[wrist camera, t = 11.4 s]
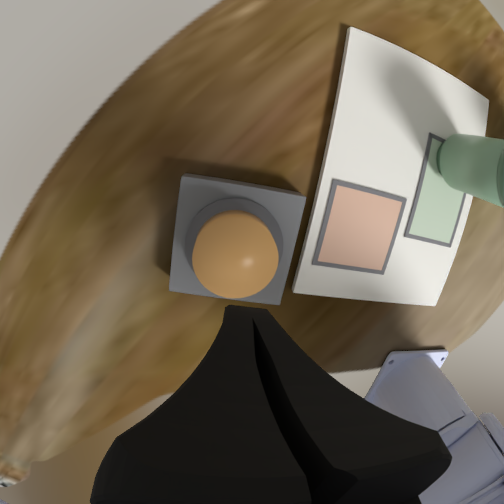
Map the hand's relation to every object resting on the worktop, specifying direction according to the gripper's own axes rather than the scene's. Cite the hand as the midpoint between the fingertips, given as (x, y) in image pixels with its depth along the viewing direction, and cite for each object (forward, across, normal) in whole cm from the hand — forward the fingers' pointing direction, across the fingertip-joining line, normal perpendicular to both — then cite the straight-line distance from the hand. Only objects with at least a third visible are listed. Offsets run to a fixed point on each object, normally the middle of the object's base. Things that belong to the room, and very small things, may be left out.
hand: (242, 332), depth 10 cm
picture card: (+10, -11, -6) cm, 16 cm away
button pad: (+10, 0, 0) cm, 10 cm away
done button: (+8, 0, 0) cm, 8 cm away
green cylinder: (+9, -14, -9) cm, 19 cm away
